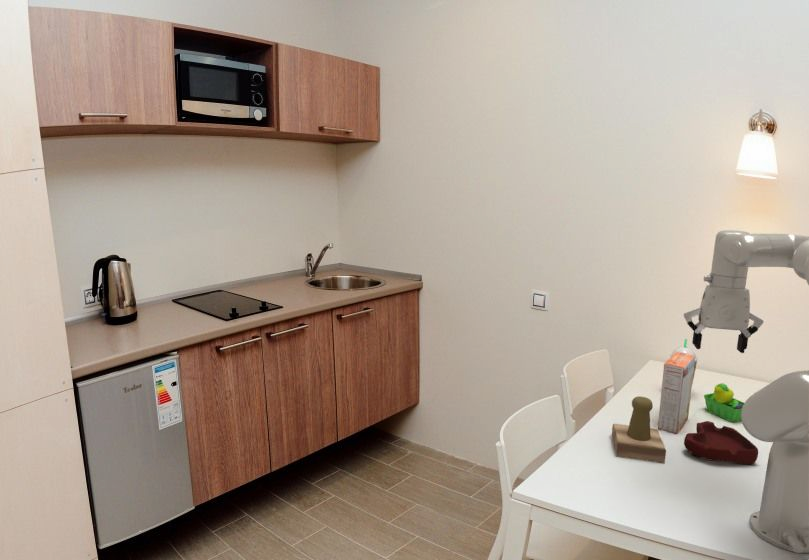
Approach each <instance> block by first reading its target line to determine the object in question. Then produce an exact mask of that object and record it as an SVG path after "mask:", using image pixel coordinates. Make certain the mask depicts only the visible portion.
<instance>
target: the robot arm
mask: <svg viewBox="0 0 809 560" xmlns="http://www.w3.org/2000/svg"><path fill="white" fill-rule="evenodd" d="M749 268H787V269H788V268H789V269H793V271H794V273H795V274H796V275H797V276H798V277H799V278H800V279H802V280H805V281H806V283H807V284H808V286H809V235H807V236H806V235H801V234H800V235H799V234H790V233H750V232H748V231H742V230H732V229H731V230H727V229H725V230H720V231H718V232H717V234H716V235H715V240H714V247H713V255H712V263H711V269H710V273H709V275H704V276H703V282H706V283H708V284H707V285H705V288H704V292H703V294H702V297H701V301H700V306H699V308H695V309H692V310H690V311H687V312H685V313H683V318H684V320H685V322H686V324H687V325H688V326H689V327H690V329H691V330H692V331H693V332H692V333H693V334H692V341H691V343H692V345H693V346H694V347H695V348H696V350H701V347H702V339H703V334H702V333H701V332H702V331H703V330H705V329H706V328H708V329H714V330H715V329H716V330H727V331H729V330H730V331H740V334H738V337H737V344H736V350H737V351H738V352H739V353H740V354H744V353H745V350H747V348H748V343H749V338H751V336H752V335H753V334H755V333H757V332H758V330H759V328H761V326H762V325H763V324H764V319H762V318H760V317H758V316H757V315H755V314H753V313H751V312H750V311H751V298H750V297H751V294H750V289H748V288H747V287H746V285H747V279H748V278H747V277H748V271H749ZM696 316H698V321H697V322H696V323H694V322H693V317H696ZM750 320H751V321H753V322H752V323H753V324H752V325H750V326H749V323H750ZM740 421H741V422H742V423H741V424H742V425H743V428H744V429H745V431H746V432H747V433H748V434H749V435H750V436H751V437H753V438H754V439H756V440H759V441H761V442H764V443H772V444H771V447H770V449H769V453H768V458H767V464H766V471H765V476H764V484H763V489H762V496H761V502H760V509H759V510H757V511H754V512H752V513H751V514H750V517H749V526H750V528H751V529H752V530H753V532H754V533H755V534H756V535H757V536H759V537H760V538H761V539H763V540H764V541H766V542H768V543H769V544H772V545H774V546H776V547H778V548H781V549H783V550H788V551H790V552H794V553H796V554H803V553H805V554H806V553H808V554H809V370H798V371H794V372H793V371H792V372H789V373H786V374H784V375H782V376H780V377H778V378H777V379H775V380H773V381H772V382H770V383H769V384H767V385H765V386H764V387H762V388H761V389H759V390H758V391H756V392H753V394H751V395H750V396H749V397H748V398H747V399H746V400H745V401H744V405H743V408H742V411H741V420H740Z"/></svg>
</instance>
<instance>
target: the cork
mask: <svg viewBox="0 0 809 560" xmlns="http://www.w3.org/2000/svg"><path fill="white" fill-rule="evenodd" d="M631 407H632V408H633V409H632V413H631V416H630V420H629V424H628V425H629V427H628V431H627V435H628V436H629V437H630V438H632V439H635V440H638V441H648V440H650V439H651V434H650V428H651V413H650V412H651V411H652V409H653V401H652V399H650V398H648V397H645V396H635V397H634V398H632V400H631Z"/></svg>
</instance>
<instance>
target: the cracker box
mask: <svg viewBox="0 0 809 560" xmlns="http://www.w3.org/2000/svg"><path fill="white" fill-rule="evenodd" d="M694 362H695V355H690V354H685V353H680V352H675V353H674V354H673V356H672V357H671V358H670V357H669V358H668V359H667V360H666V361H665V362H664V364H663V371H662V372H663V374H662V382H661V384H662V385H661V391H660V392H661V393H660V403H659V411H658V412H659V413H658V421H657V422H658V423H657V430H662V431H665V432H669V433H672V434H676V435H677V434H678V433H679V432H680V431H681V429H682V428H683V426H684V424H685V423H686V422H687V420H688V419H689V412H690V403H691V397H692V396H691V395H692V389H691V388H692V387H693V384H692V380H693V381H694V379H693V371H694Z"/></svg>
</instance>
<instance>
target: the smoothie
mask: <svg viewBox="0 0 809 560" xmlns="http://www.w3.org/2000/svg"><path fill="white" fill-rule="evenodd" d="M687 342H688V339H686V338H684V343H683V344H684V345H683V346H679V347H676V348H675V349H673V351H672V353H670V355H669V356H670V357H669V359H670V358H671V357H672V356H673V354H674V353H675V352H680V353H685V354H690V355H695V362H694V371H693V380H692V385H693V383H694V378H695V373H696V369H697V368H696V367H697V364H698V361H699V360H698V358H697V355H696V353H695V351H694V350H693V349H692V348H690V347H687V345H688V344H687ZM691 390H692V388H691Z"/></svg>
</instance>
